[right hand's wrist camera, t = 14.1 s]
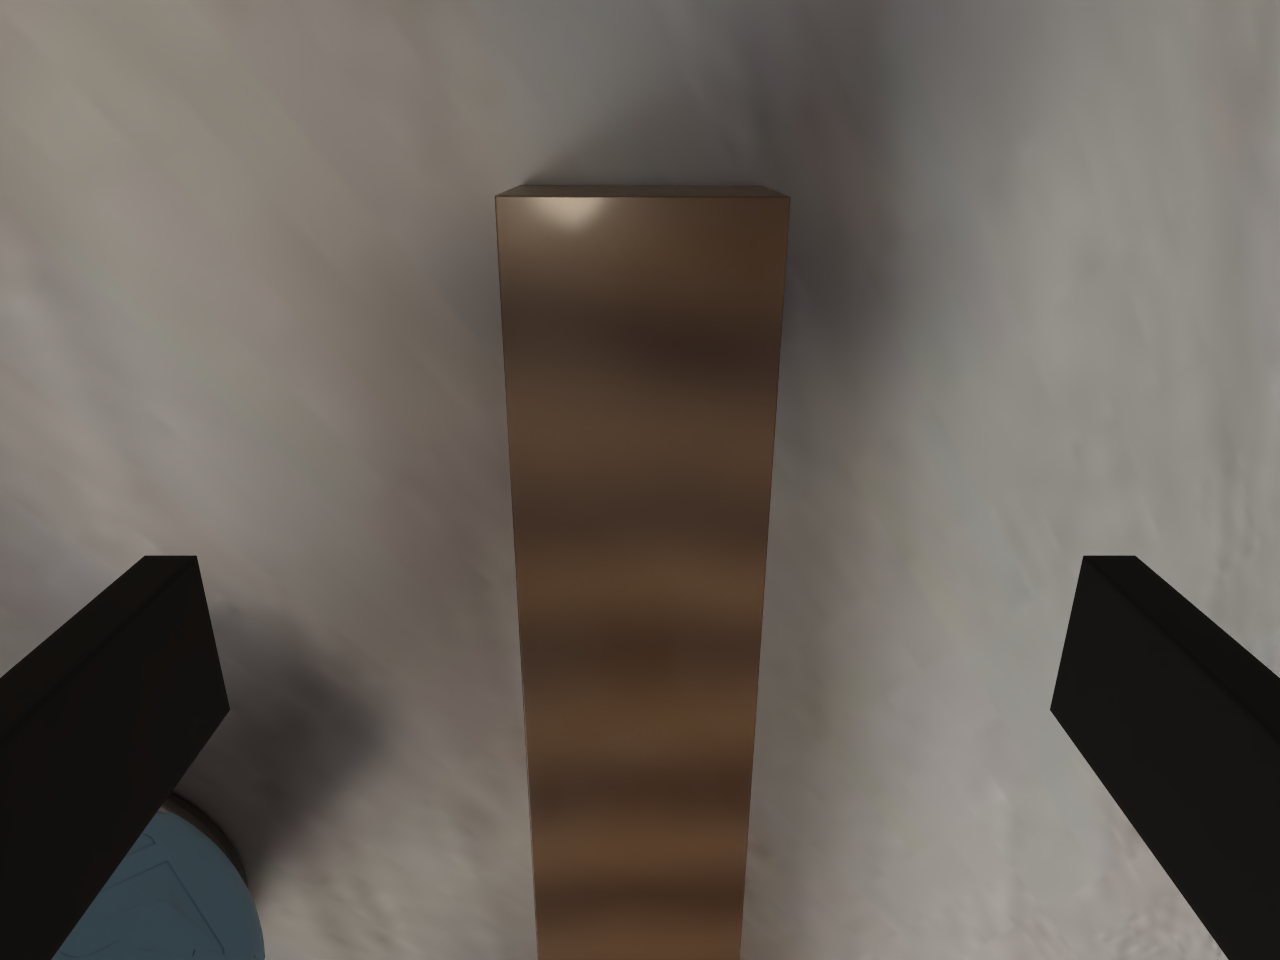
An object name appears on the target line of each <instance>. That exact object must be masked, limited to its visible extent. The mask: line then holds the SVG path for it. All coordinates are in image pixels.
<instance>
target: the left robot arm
mask: <svg viewBox="0 0 1280 960" xmlns="http://www.w3.org/2000/svg"><path fill="white" fill-rule="evenodd" d="M264 959H265V952H264V940H263V934H262V929H261V925H260V921H259V917H258V914H257V910H256V907H255V904H254V902H253V899H252V897H251V895H250V892H249V890H248V888H247V886H246V882H245V876H244V872H243V869H242V866H241V863H240V861H239V859H238V857H237V855H236V853H235V851H234V849H233V848H232V846H231V844H230V843H229V842H228V840H227V839H226V837H225V836H224V835H223V834H222V833H221V831H220V830H219V829H218V828H217V827H216V826H215V825H214V824H213V823H212V822H211V821H210V820H209V819H208V818H207V817H206V816H204V815H203V814H202V813H201V812H200V811H198V810H197V809H196V808H194V807H193V806H191V805H190V804H189V803H187V802H186V801H184V800H182V799H181V798H179V797H177V796H176V795H174V794H172V793H170V794H169V796H168V797H167V799H166V800H165V801H164V803H163V804H162V806H161V807H160V808H159V810H158V811H157V813H156V814H155V815H154V817H153V818H152V820H151V821H150V822H149V824H148V825H147V827H146V828H145V829H144V831H143V832H142V834H141V835H140V836H139V838H138V839H137V841H136V842H135V843H134V845H133V846H132V848H131V849H130V850H129V852H128V853H127V855H126V856H125V857H124V859H123V860H122V862H121V863H120V864H119V866H118V867H117V869H116V870H115V871H114V873H113V874H112V876H111V877H110V878H109V880H108V881H107V883H106V884H105V885H104V887H103V888H102V890H101V891H100V892H99V894H98V895H97V896H96V898H95V899H94V901H93V902H92V903H91V905H90V906H89V908H88V909H87V910H86V912H85V913H84V915H83V916H82V917H81V919H80V920H79V922H78V923H77V924H76V926H75V927H74V929H73V930H72V931H71V933H70V934H69V936H68V937H67V938H66V940H65V941H64V943H63V944H62V945H61V947H60V948H59V950H58V951H57V952H56V954H55V955H54V957H53V958H52V959H51V960H264Z"/></svg>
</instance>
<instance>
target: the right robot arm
mask: <svg viewBox="0 0 1280 960" xmlns="http://www.w3.org/2000/svg"><path fill="white" fill-rule="evenodd" d="M229 710H230V708H229V703H228V698H227V694H226V689H225V685H224V680H223V675H222V671H221V666H220V662H219V657H218V652H217V648H216V643H215V638H214V634H213V629H212V625H211V620H210V615H209V611H208V606H207V602H206V597H205V592H204V588H203V583H202V578H201V574H200V569H199V565H198V560H197V556H144V557H143V558H142V559H140V560H139V561H138V562H137V563H136V564H134V565H133V566H132V567H131V568H130V569H129V570H127V571H126V572H125V573H124V574H123V575H121V576H120V577H119V578H118V579H117V580H116V581H114V582H113V583H112V584H111V585H110V586H108V587H107V588H106V589H105V590H104V591H103V592H101V593H100V594H99V595H98V596H97V597H95V598H94V599H93V600H92V601H91V602H90V603H88V604H87V605H86V606H85V607H84V608H82V609H81V610H80V611H79V612H78V613H77V614H75V615H74V616H73V617H72V618H71V619H70V620H68V621H67V622H66V623H65V624H64V625H62V626H61V627H60V628H59V629H58V630H57V631H55V632H54V633H53V634H52V635H51V636H49V637H48V638H47V639H46V640H45V641H44V642H42V643H41V644H40V645H39V646H38V647H36V648H35V649H34V650H33V651H32V652H31V653H29V654H28V655H27V656H26V657H25V658H23V659H22V660H21V661H20V662H19V663H18V664H16V665H15V666H14V667H13V668H12V669H10V670H9V671H8V672H7V673H6V674H5V675H3V676H2V677H1V678H0V960H51V959H52V958H53V957H54V955H55V954H56V952H57V951H58V950H59V948H60V947H61V945H62V944H63V943H64V941H65V940H66V938H67V937H68V936H69V934H70V933H71V931H72V930H73V929H74V927H75V926H76V924H77V923H78V922H79V920H80V919H81V917H82V916H83V915H84V913H85V912H86V910H87V909H88V908H89V906H90V905H91V903H92V902H93V901H94V899H95V898H96V896H97V895H98V894H99V892H100V891H101V890H102V888H103V887H104V885H105V884H106V883H107V881H108V880H109V878H110V877H111V876H112V874H113V873H114V871H115V870H116V869H117V867H118V866H119V864H120V863H121V862H122V860H123V859H124V857H125V856H126V855H127V853H128V852H129V850H130V849H131V848H132V846H133V845H134V843H135V842H136V841H137V839H138V838H139V836H140V835H141V834H142V832H143V831H144V829H145V828H146V827H147V825H148V824H149V822H150V821H151V820H152V818H153V817H154V815H155V814H156V813H157V811H158V810H159V808H160V807H161V806H162V804H163V803H164V801H165V800H166V799H167V797H168V796H169V794H170V793H171V792H172V790H173V789H174V787H175V786H176V785H177V783H178V782H179V780H180V779H181V778H182V776H183V775H184V773H185V772H186V771H187V769H188V768H189V766H190V765H191V764H192V762H193V761H194V759H195V758H196V757H197V755H198V754H199V752H200V751H201V750H202V748H203V747H204V745H205V744H206V743H207V741H208V740H209V738H210V737H211V736H212V734H213V733H214V731H215V730H216V729H217V727H218V726H219V724H220V723H221V722H222V720H223V719H224V717H225V716H226V715H227V713H228V712H229ZM1050 710H1051V712H1052V713H1053V715H1054V716H1055V717H1056V719H1057V720H1058V722H1059V723H1060V724H1061V726H1062V727H1063V729H1064V730H1065V731H1066V733H1067V734H1068V736H1069V737H1070V738H1071V740H1072V741H1073V743H1074V744H1075V745H1076V747H1077V748H1078V750H1079V751H1080V752H1081V754H1082V755H1083V757H1084V758H1085V759H1086V761H1087V762H1088V764H1089V765H1090V766H1091V768H1092V769H1093V771H1094V772H1095V773H1096V775H1097V776H1098V778H1099V779H1100V780H1101V782H1102V783H1103V785H1104V786H1105V787H1106V789H1107V790H1108V792H1109V793H1110V794H1111V796H1112V797H1113V799H1114V800H1115V801H1116V803H1117V804H1118V806H1119V807H1120V808H1121V810H1122V811H1123V813H1124V814H1125V815H1126V817H1127V818H1128V820H1129V821H1130V822H1131V824H1132V825H1133V827H1134V828H1135V829H1136V831H1137V832H1138V834H1139V835H1140V836H1141V838H1142V839H1143V841H1144V842H1145V843H1146V845H1147V846H1148V848H1149V849H1150V850H1151V852H1152V853H1153V855H1154V856H1155V857H1156V859H1157V860H1158V862H1159V863H1160V864H1161V866H1162V867H1163V869H1164V870H1165V871H1166V873H1167V874H1168V876H1169V877H1170V878H1171V880H1172V881H1173V883H1174V884H1175V885H1176V887H1177V888H1178V890H1179V891H1180V892H1181V894H1182V895H1183V897H1184V898H1185V899H1186V901H1187V902H1188V903H1189V905H1190V906H1191V908H1192V909H1193V910H1194V912H1195V913H1196V915H1197V916H1198V917H1199V919H1200V920H1201V922H1202V923H1203V924H1204V926H1205V927H1206V929H1207V930H1208V931H1209V933H1210V934H1211V936H1212V937H1213V938H1214V940H1215V941H1216V943H1217V944H1218V945H1219V947H1220V948H1221V950H1222V951H1223V952H1224V954H1225V955H1226V957H1227V958H1228V959H1229V960H1280V678H1279V677H1278V676H1277V675H1275V674H1274V673H1273V672H1272V671H1271V670H1270V669H1268V668H1267V667H1266V666H1265V665H1264V664H1262V663H1261V662H1260V661H1259V660H1258V659H1257V658H1255V657H1254V656H1253V655H1252V654H1251V653H1249V652H1248V651H1247V650H1246V649H1245V648H1244V647H1242V646H1241V645H1240V644H1239V643H1238V642H1236V641H1235V640H1234V639H1233V638H1232V637H1231V636H1229V635H1228V634H1227V633H1226V632H1225V631H1223V630H1222V629H1221V628H1220V627H1219V626H1218V625H1216V624H1215V623H1214V622H1213V621H1212V620H1210V619H1209V618H1208V617H1207V616H1206V615H1205V614H1203V613H1202V612H1201V611H1200V610H1199V609H1198V608H1196V607H1195V606H1194V605H1193V604H1192V603H1190V602H1189V601H1188V600H1187V599H1186V598H1185V597H1183V596H1182V595H1181V594H1180V593H1179V592H1177V591H1176V590H1175V589H1174V588H1173V587H1172V586H1170V585H1169V584H1168V583H1167V582H1166V581H1164V580H1163V579H1162V578H1161V577H1160V576H1159V575H1157V574H1156V573H1155V572H1154V571H1153V570H1151V569H1150V568H1149V567H1148V566H1147V565H1146V564H1144V563H1143V562H1142V561H1141V560H1140V559H1138V558H1137V557H1136V556H1083V560H1082V565H1081V569H1080V574H1079V578H1078V583H1077V588H1076V592H1075V597H1074V602H1073V606H1072V611H1071V615H1070V620H1069V625H1068V629H1067V634H1066V638H1065V643H1064V648H1063V652H1062V657H1061V662H1060V666H1059V671H1058V675H1057V680H1056V685H1055V689H1054V694H1053V698H1052V703H1051V708H1050Z"/></svg>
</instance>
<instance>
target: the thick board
mask: <svg viewBox="0 0 1280 960" xmlns="http://www.w3.org/2000/svg"><path fill="white" fill-rule="evenodd" d="M495 210H496V227H497V245H498V263H499V281H500V298H501V316H502V334H503V352H504V369H505V387H506V405H507V422H508V440H509V458H510V476H511V493H512V511H513V529H514V547H515V564H516V582H517V600H518V618H519V635H520V653H521V671H522V688H523V706H524V724H525V742H526V759H527V777H528V795H529V813H530V830H531V848H532V866H533V884H534V901H535V919H536V937H537V954H538V960H740V946H741V931H742V916H743V901H744V886H745V871H746V856H747V841H748V826H749V811H750V796H751V781H752V766H753V751H754V736H755V721H756V707H757V692H758V677H759V662H760V647H761V632H762V617H763V602H764V587H765V572H766V557H767V542H768V527H769V512H770V497H771V482H772V467H773V452H774V437H775V422H776V407H777V392H778V377H779V362H780V347H781V332H782V317H783V302H784V287H785V272H786V257H787V242H788V227H789V212H790V197H789V196H786V195H784V194H781V193H779V192H776V191H774V190H771V189H769V188H767V187H764V186H607V185H520V186H517V187H515V188H513V189H510V190H508V191H505V192H503V193H501V194H498V195H496V196H495Z"/></svg>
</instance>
